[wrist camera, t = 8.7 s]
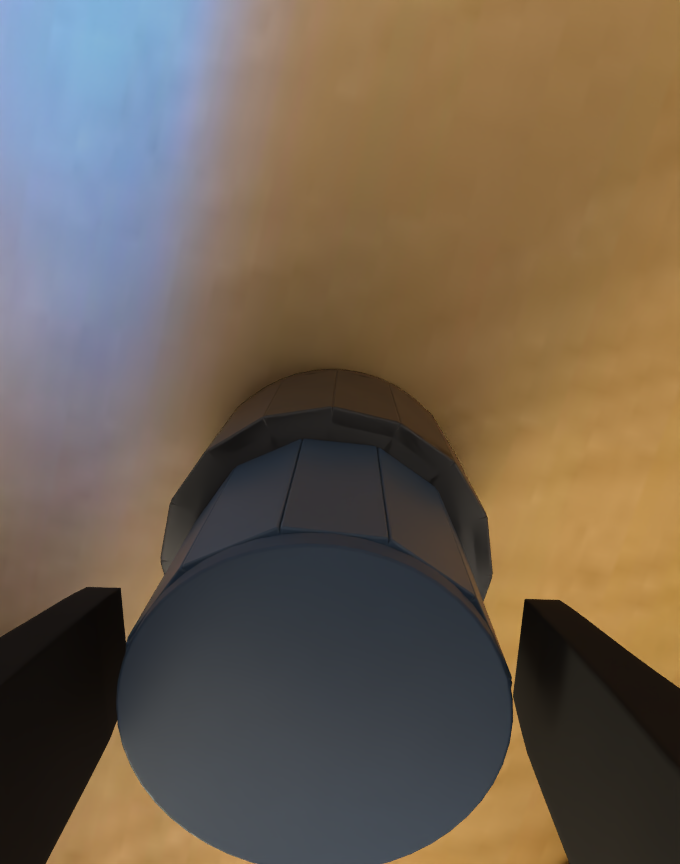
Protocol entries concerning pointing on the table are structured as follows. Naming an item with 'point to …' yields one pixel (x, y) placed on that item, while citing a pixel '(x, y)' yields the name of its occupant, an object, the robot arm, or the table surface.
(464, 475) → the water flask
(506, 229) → the table surface
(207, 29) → the table surface
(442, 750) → the dark grey short cylinder
